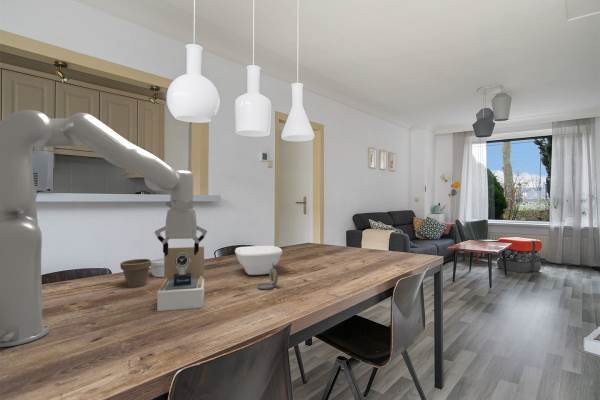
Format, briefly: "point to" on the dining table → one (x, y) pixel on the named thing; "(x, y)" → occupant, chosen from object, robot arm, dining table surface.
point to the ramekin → (157, 267)
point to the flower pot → (136, 271)
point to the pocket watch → (273, 280)
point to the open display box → (183, 294)
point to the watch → (182, 269)
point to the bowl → (258, 258)
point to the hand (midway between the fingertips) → (181, 254)
